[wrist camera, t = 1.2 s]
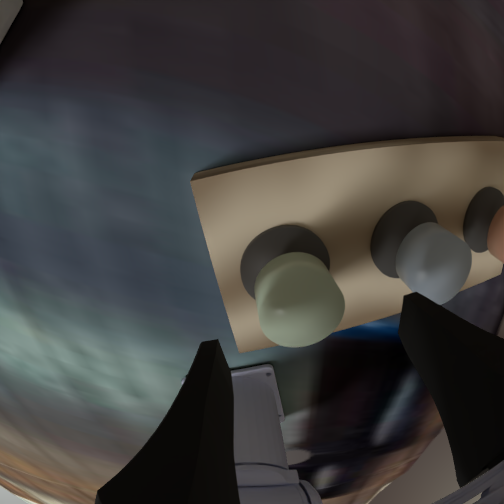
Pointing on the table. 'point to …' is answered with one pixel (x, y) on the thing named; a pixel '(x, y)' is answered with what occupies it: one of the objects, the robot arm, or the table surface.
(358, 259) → the button panel
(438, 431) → the table surface
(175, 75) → the table surface
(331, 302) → the button sage
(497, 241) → the button terracotta
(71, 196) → the table surface
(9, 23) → the photo printer
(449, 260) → the button slate
